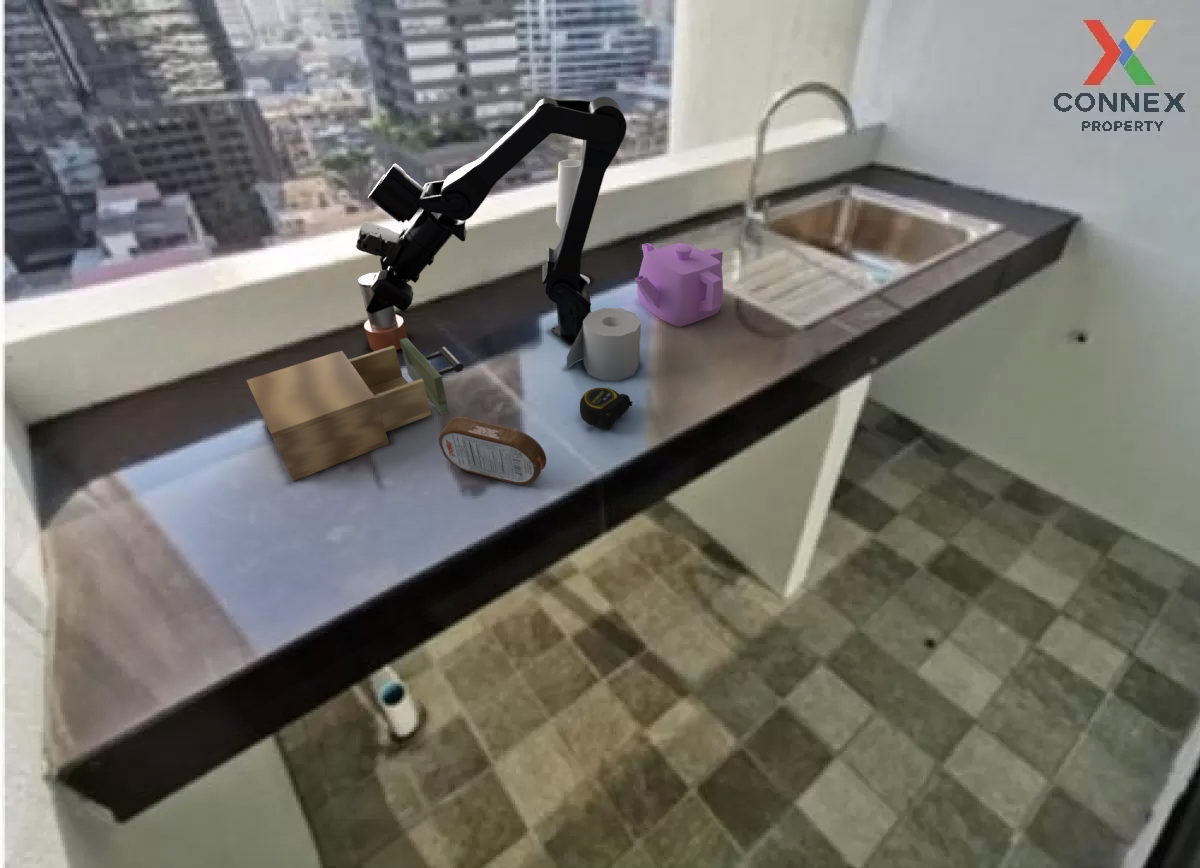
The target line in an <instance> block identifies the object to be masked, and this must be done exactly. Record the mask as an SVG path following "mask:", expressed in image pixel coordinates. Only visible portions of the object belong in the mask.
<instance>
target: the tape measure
mask: <svg viewBox="0 0 1200 868" xmlns="http://www.w3.org/2000/svg"><path fill="white" fill-rule="evenodd" d="M633 402H634V401H631V397H630V396H629V395H627V394H625V393H619V392H617V391H616V390H614V389H612V388H609V387H594V388H590V389H588V390H587V391H585V392H584V394H582V396H581V398H580V401H579V414H580V417H581V419H582V420H583V422H585V423H586V424H587V425H589V426H593V427H597V428H601V429H603V430H610V429H612V428H613V426H614V425H615V424H616V422H617V421H618V420H619V419H620V418H621V417H622V416H623V415H625V413H626V412H627V411H628V410H629V409H630V407H632V406H633Z"/></svg>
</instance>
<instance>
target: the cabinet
mask: <svg viewBox="0 0 1200 868" xmlns="http://www.w3.org/2000/svg"><path fill="white" fill-rule="evenodd" d="M246 383H247V385H248V387H249V389H250V392H251V394H252V396H253V398H254V400H255V403H256V404H257V406H258V409H259V412H260V413H261V415H262V418H263V420H264V422H265V425H266V426H267V428H268V431H269V433H270V435H271V437H272V440H273V441H274V444H275V446H276V448H277V451H278V452H279V454H280V455H279V456H280V457H281V459H282V461H283V463H284V465H285V468H286V469H287V472H288V475H289V476H290V478H291V481H292V482H296V481H297V480H300V479H303V478H306V477H309V476H310V475H313V474H316V473H318V472H321V471H323V470H326V469H328V468H331V467H333V466H336V465H338V464H341V463H344V462H347V461H349V460H352V459H354V458H356V457H359V456H362V455H364V454H367V453H370V452H371V451H375V450H377V449H380V448H382V447H384V446H387V445H390V443H389V439H388V435H387V432H385V428H384V425H383V422H382V418H381V415H380V412H379V408H378V405H377V402H376V398H375V396H374V395H373V393H372V392H371V391H370V389H369V388H368V386H367V385H366V384H365V382H364V381H363V379H362V378H361V377H360V375H359V374H358V372H357V371H356V370H355V368H354V367H353V365H352V364H351V363H350V361H349V358H348V357H347V356H346V354H345V353H344V351H343V350H339V351H336V352H333V353H329V354H326V355H323V356H319V357H317V358H313V359H310V360H307V361H303V362H300V363H297V364H294V365H291V366H288V367H284V368H281V369H277V370H275V371H272V372H268V373H265V374H262V375H259V376H255V377H252V378H249V379H246Z"/></svg>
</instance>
